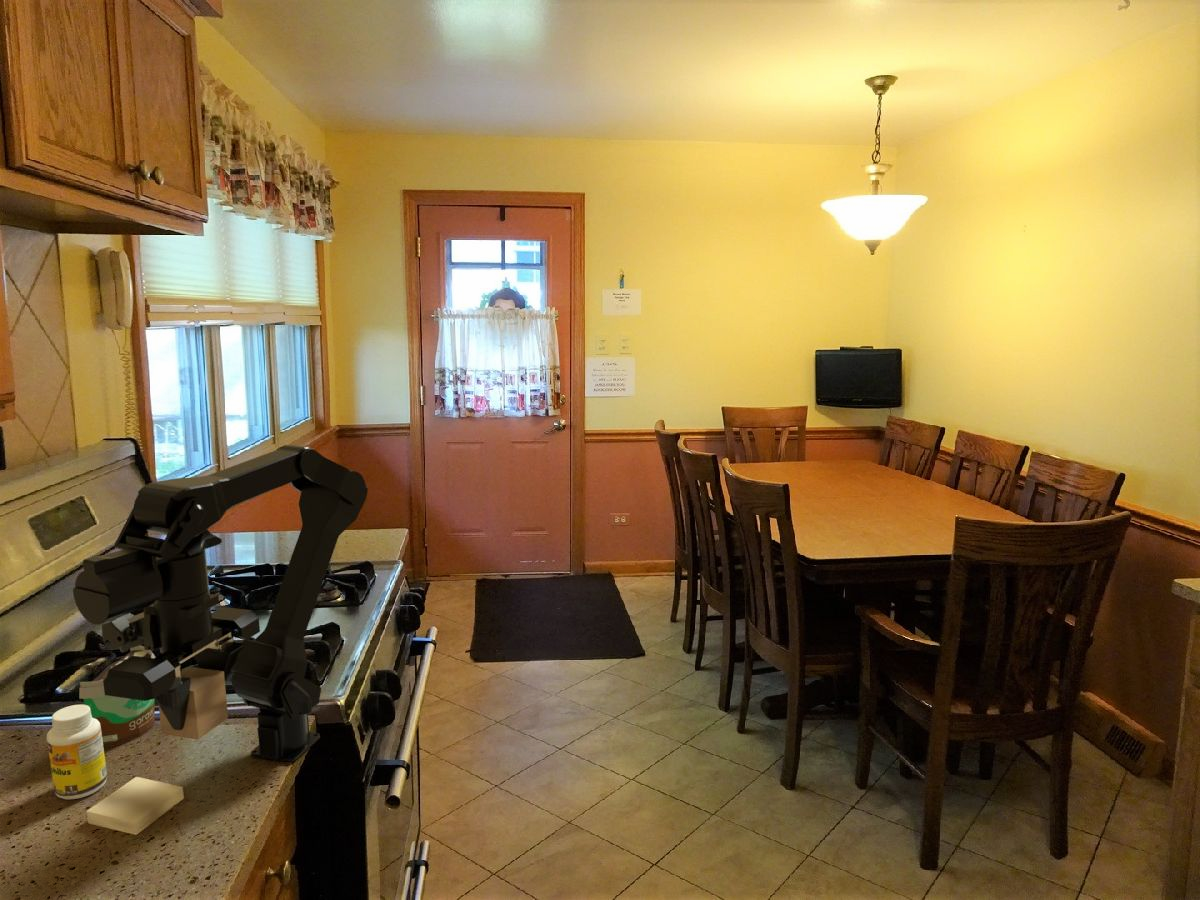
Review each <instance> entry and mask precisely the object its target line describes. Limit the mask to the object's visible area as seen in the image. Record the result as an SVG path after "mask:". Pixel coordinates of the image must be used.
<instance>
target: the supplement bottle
mask: <svg viewBox="0 0 1200 900" xmlns="http://www.w3.org/2000/svg"><path fill="white" fill-rule="evenodd" d="M51 721H52V722H51V724H52V727H51V728H50V729H49V731H48V732H47V734H46V743H47V744H46V745H47V750H48V756H49V757H48V758H49V763H50V770H51V771H50V772H51V779H52V785H53V791H54V794H55V795H56V796H57V797H58V798H60V799H63V800H76V799H81V798H85V797H88V796H91V795H92V794H94V793H96V792H98V791H99V790H100V789H102V787H104V785H105V784H106V782H107V780H108V773H107V764H106V757H105V749H104V748H105V747H104V748H103V740H102V732H101V726H100V722H99V721H98V720H97V719H95V718H92V715H91V710H90V707H89V706H87V705H85V704H73V705H69V706H65V707H63V708H60V709H59V710H56V711H55V712H54V713H53V714H52V716H51Z"/></svg>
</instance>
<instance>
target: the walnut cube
mask: <svg viewBox="0 0 1200 900" xmlns="http://www.w3.org/2000/svg"><path fill="white" fill-rule="evenodd" d="M180 673H181V677H185V678H191V683H190V691H189V698H188V705H187V712H186V719H185V723H184V727H183V729H182V730H174V729H173V728H172V726H171V725H170V723H169V721H168V720H167V718H166V716H165V715H164V713H163V712H162V710H161V708H160V707H159V706H158V711H159V722H160V727H161V728H160V729H161V735H166V736H173V737H178V738H179V737H180V738H186V739H193V740H198V741H199V740H200V739H201V738H203V737H205V736H206V735H208V734H209V733H210V732H211V731H212V730H214V729H215V728H217V727H218V726H219V725H221V724H222V723H223V722H224V721H226V720H227V719H228V718H229V710H228V701H227V700H228V699H227V692H226V691H227V690H226V681H225V678H224V671H218V670H210V669H202V668H199V667H194V666H186V667H185V668H183V669H181V670H180Z"/></svg>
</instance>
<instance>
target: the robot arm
mask: <svg viewBox="0 0 1200 900" xmlns="http://www.w3.org/2000/svg"><path fill="white" fill-rule="evenodd" d="M364 478H365V477H364V476H363V474H361V473H360V472H358V471H356V470H350V469H349V468H347V467H345V466H343V465H341V464H339V463H337V462H335V461H333V460H331V459H329V458H327V457H325V456H324V455H322V454H321V453H320V452H318V451H317V450H315V449H314V448H312V447H310V446H303V445H297V444H296V445H295V444H294V445H293V444H283V445H282V446H279V447H278V448H277V449H275V450H273V451H270V452H268V453H264V454H261V455H260V456H256V457H254V458H251V459H249V460H245V461H242V462H240V463H238V464H235V465H232V466H230V467H226V468H224V469H222V470H219V471H216V472H214V473H211V474H208V475H201V476H192V477H178V478H177V477H176V478H172V479H164V480H158V481H153V482H149V483H148V484H145V485H144V486H142V487H141V488H140V489H139V490H138V492H137V493H138V495H137V496H136V498H135V499H134V503H133V508H132V510H131V512H130V513H129V515H128V517H127V519H126V521H125V524H124V526H122V529H121V530H120V533H119V534H118V537H117V538H116V541H115V542H114V545H113V546H114V549H117V550H118V551H115V552H114V551H113V552H110V553H107V554H103V555H95V556H91V557H88V558H84V559H83V560H82V567H83V568H82V569H83V571H81V572H79V574H78V575H77V576H76V578H75V581H74V582H75V583H74V587H73V588H72V594H73V599H74V602H75V606H76V607H77V609H78V611H79V613H80V614H81V615H82V617H83V618H84V619H85V620H86V621H87V622H89V623H91V624H92V625H101V637H102V641H103V643H104V646H105V648H106V649H108V650H109V651H114V650H117V649H119V650H120V652H121V653H125V652H128V651H129V650H130V648H133V647H137V646H143V647H144V649H145V650H151V651H152V652H154V651H155V650H159V651H160V654H158V655H157V656H155V658H148V657H140V656H132V657H130V658H128V659H127V660H125V661H123V662H121V663H119V664H117V665H116V666H114V667H112V668H110V669H109V670H108V671H107V672H106V673H105V674H104V675H103V685H104V693H105V695H107V696H114V697H121V698H128V699H135V700H142V701H147V700H151V699H154V702H156V704H157V705H158V708H159V707H160V708H161V710H162V712H163V713H164V715H165V716H166V718H167V720H168V721H169V723H170V725H171V726H172V728H173V729H174V730H182V729H183V727H184V723H185V719H186V712H187V705H188V698H189V691H190V683H191V678H185V677H181V673H180V671H181V667H182V666H181V664H182V663H184V662H186V661H188V660H189V659H191V658H194V660H195V661H196V663H197V665H198V667H197V668H202V669H210V670H218V671H224V678H225V682H226V681H227V679H228V677H229V674H230V672H231V671H232V673H233V674H232V678H231V686H232V687H233V690H234V692H235V694H236V695H237V696H238V698H242V701H243V702H244V705H246V707H247V706H248V707H254V708H256V709H257V708H258V711H259V712H257V714H256V716H257V726H258V727H257V738H258V744H257V746H255V747H254V749H252V750H251V751H250V756H251V757H253V758H260V759H268V760H272V761H280V762H286V763H293V762H296V760H297V759H299V758H300V757H301V756H302V755H304V753H305V752H306V751H308V749H310V747H312V746H313V745H314V744H315V743H316V742H317V741H318V740H320V738H321V736H320V733H318V732H311V730H310V720H309V714H311V712H313V711H312V709H313V708H314V707H315V706H317V705H319V703H320V699H321V693H322V687H321V686H319V685H317V684H316V683H314V682H312V681H310V680H309V679H307V678H305V675H306V671H307V667H308V658H307V654H306V647H305V642H304V639H305V634H306V632H307V629H308V626H309V624H310V620H311V618H312V615H313V612H314V608H315V606H316V603H317V600H318V598H319V594H320V592H321V589H322V587H323V586H322V585H323V583H324V580H325V577H326V574H327V571H328V569H329V565H330V563H331V559H332V557H333V554H334V551H335V548H336V545H337V542H338V539H339V538H340V535H342V533H343V532H345V531H346V529H348V528H349V527H350V526H351V525H353V523H354V522H355V521H357V519H358V516H359V515H360V513H361V510H362V508H363V506H364V504H365V502H366V500H367V496H368V489H369V487H368V486H367V485H366V481H365V479H364ZM288 484H289V486H291V487H292V488H293V489H294V490H296V491H298V492H299V493H300V495H299V500H298V509H299V514H300V515H299V516H300V519H301V529H300V531H299V534H298V538H297V539H296V540H297V541H296V543H295V545H294V549H293V551H292V554H291V557H290V560H289V562H288V565H287V567H286V570H285V573H284V577H283V579H282V582H281V584H280V586H279V591H278V593H277V596H276V598H275V601H274V604H273V607H272V609H271V612H270V615H269V618H268V621H267V623H266V626H265V628H264V630H263V631H262V632H261V629H260V618H259V616H258V615H257V614H256V613H255V612H254V611H253V610H252V609H242V608H235V607H234V608H233V607H225V606H222V607H220V608H218V609H216V610H213V611H212V607H214V606H216V605H218V604H219V603H220V600H219V594H211V593H210V587H209V586H210V585H209V575H208V573H209V572H208V567H207V564H208V563H207V555H206V553H207V552H206V550H208V549H210V548H213V547H216V546H219V545H222V542H223V541H222V538H221V537H219V536H217V535H215V534H214V533H212V532H211V531H210V530H209V529H210V528H212V527H213V526H215V525H216V524H218V523H219V522H220V521H221V519H222V518H223V516H224V515H225V513H226V512H227V511H229V510H230V509H233V508H234V507H236V506H238V505H241V504H243V503H245V502H248V501H250V500H252V499H254V498H257V497H259V496H262V495H265V494H267V493H269V492H271V491H273V490H274V491H275V490H277V489H278V488H281V487H283V486H285V485H288ZM147 533H153V534H159V535H164V536H165V538H158V537H154V536H149V535H147ZM142 609H143V612H140V613H137V614H135V615H133V616H131V617H129V618H126V617H125V616H127V615H129V614H132V613H133V612H136V611H139V610H142ZM234 631H237V637H239V638H240V639H241V640H243V641H242V642H238V641H237V642H236V641H235V640H234V637H233V636H232V632H234ZM260 632H261V633H260ZM259 633H260V634H259ZM257 634H259V635H258V636H257V637H256V638H255V639H253V640H251V638H252V637H254V636H255V635H257Z"/></svg>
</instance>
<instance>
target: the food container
mask: <svg viewBox="0 0 1200 900" xmlns="http://www.w3.org/2000/svg"><path fill="white" fill-rule="evenodd" d="M129 650H130V652H128V653H126V654H125V656H123V657H121V658H120V659H119V660H117V661H115V662H112V663H111V664H109V665H108V666H107V667H105V668H104V670H102V671H101V672H100V674H98V676H96V677H95V678H94V679H93V680H92V681H80V682H79V685H80V687H79V693H78V694H79V700H81V699H82V700H83V703H84V704H83V705H87V706H89V707H90V710H91V715H92V718H95V719H97V720H98V721H99V722H100V726H101V732H102V740H103V748H108V747H114V746H115V747H116V746H120V745H123V744H126V743H129V742H131V741H133V740H137V739H138V738H141V737H142V736H144V735H145V734H147V733H148V732H149V731H150V730H151V729H153V727H154V726H155V722H156V717H155V716H156V715H155V699H151V700H147V701H142V700H135V699H128V698H121V697H114V696H107V695H105V693H104V685H103V675H104V674H105V673H106V672H107V671H108V670H109V669H110V668H112V667H114V666H116V665H117V664H119V663H121V662H123V661H125V660H127V659H128V658H130V657H132V656H140V657H148V658H155V657H156V655H155V654H154V653H153V651H151V650H145V649H144V645H140V646H137V647H133V648H130V649H129Z"/></svg>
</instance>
